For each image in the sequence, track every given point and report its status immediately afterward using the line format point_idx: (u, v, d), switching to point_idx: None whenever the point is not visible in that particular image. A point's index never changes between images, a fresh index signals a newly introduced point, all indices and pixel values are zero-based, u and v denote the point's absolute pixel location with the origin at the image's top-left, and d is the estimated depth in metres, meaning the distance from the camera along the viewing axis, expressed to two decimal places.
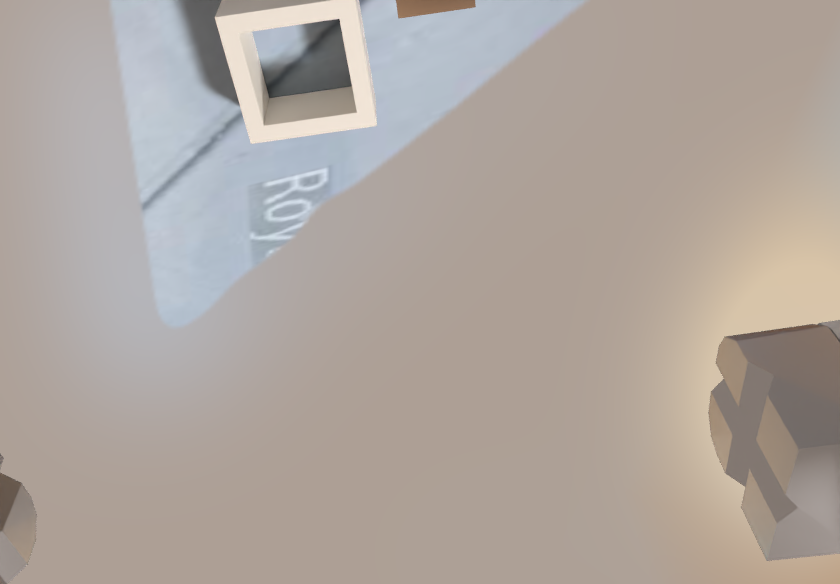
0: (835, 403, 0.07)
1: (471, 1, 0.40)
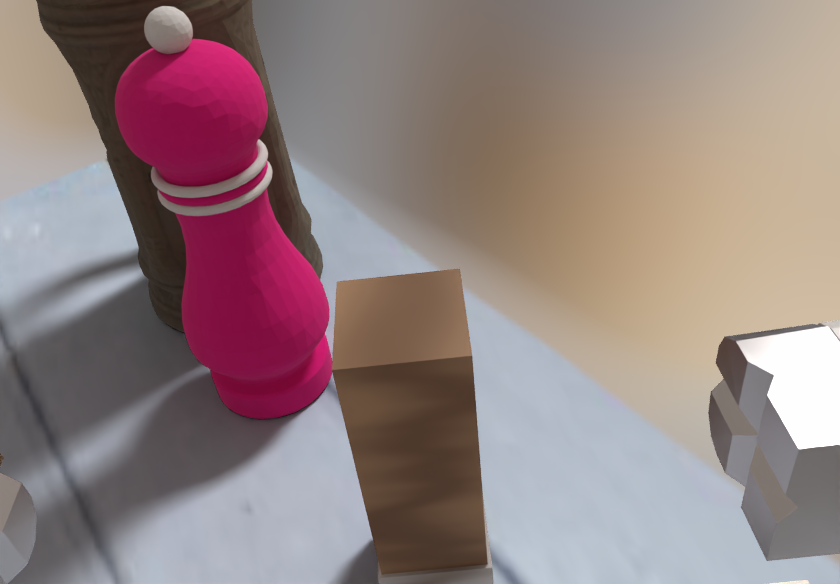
0: (835, 403, 0.07)
1: (450, 273, 0.25)
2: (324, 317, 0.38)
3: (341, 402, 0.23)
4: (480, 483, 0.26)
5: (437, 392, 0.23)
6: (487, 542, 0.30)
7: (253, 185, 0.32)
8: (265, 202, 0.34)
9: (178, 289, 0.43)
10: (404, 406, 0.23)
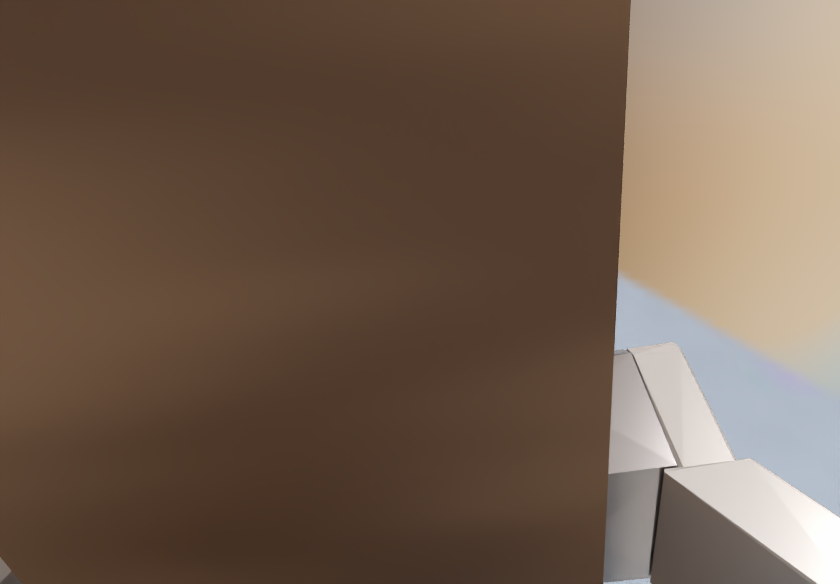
0: (616, 432, 0.07)
1: None
2: None
3: None
4: None
5: (389, 205, 0.04)
6: None
7: None
8: None
9: None
10: (199, 309, 0.04)
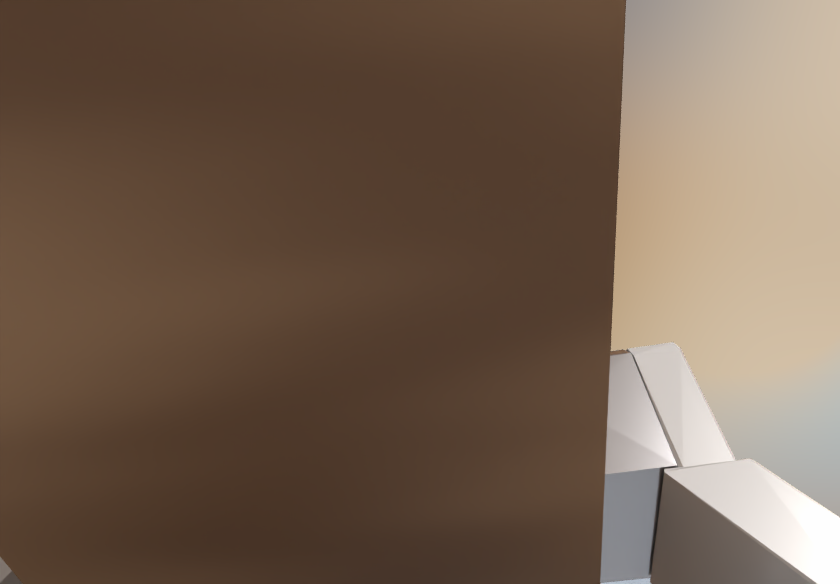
0: (616, 432, 0.07)
1: None
2: None
3: None
4: None
5: (387, 201, 0.04)
6: None
7: None
8: None
9: None
10: (194, 305, 0.04)
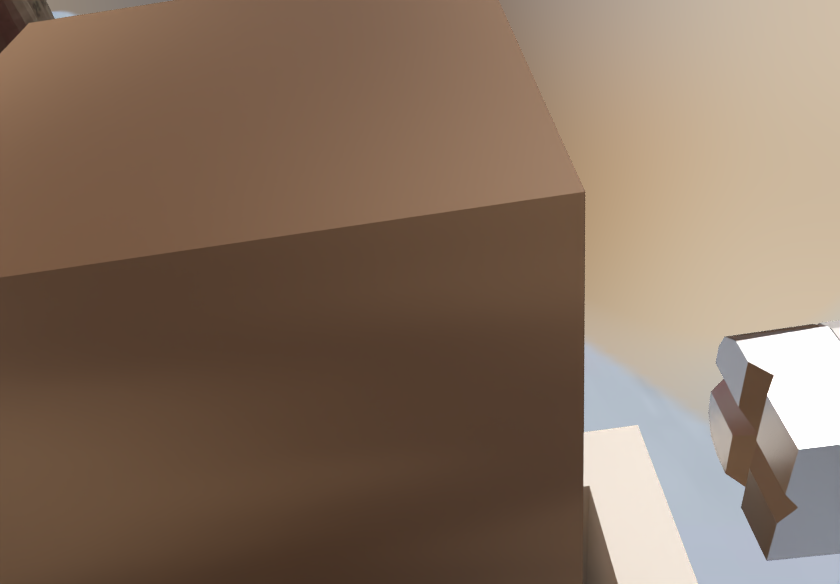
0: (834, 403, 0.07)
1: None
2: None
3: None
4: None
5: (399, 419, 0.04)
6: None
7: None
8: None
9: None
10: (244, 490, 0.05)
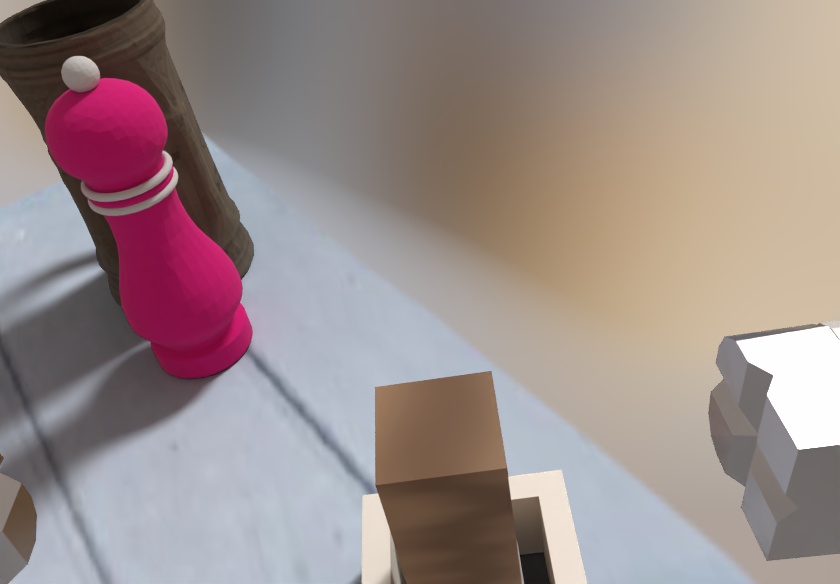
0: (835, 403, 0.07)
1: (482, 376, 0.26)
2: (235, 293, 0.47)
3: (385, 510, 0.24)
4: (519, 571, 0.27)
5: (476, 499, 0.24)
6: None
7: (159, 189, 0.41)
8: (173, 202, 0.43)
9: None
10: (444, 511, 0.24)
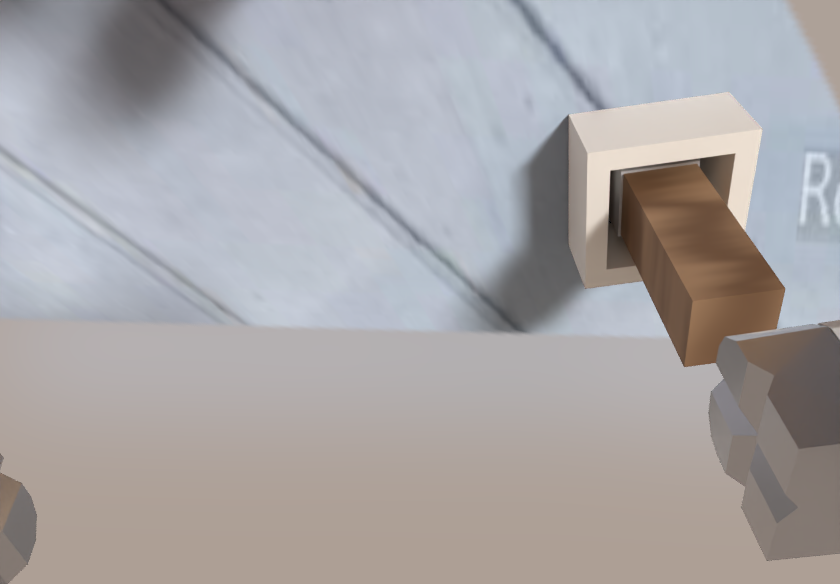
0: (834, 404, 0.07)
1: (777, 292, 0.33)
2: None
3: (675, 346, 0.37)
4: None
5: None
6: None
7: None
8: None
9: None
10: None
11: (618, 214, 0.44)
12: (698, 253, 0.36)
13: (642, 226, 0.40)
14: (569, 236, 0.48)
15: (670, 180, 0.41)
